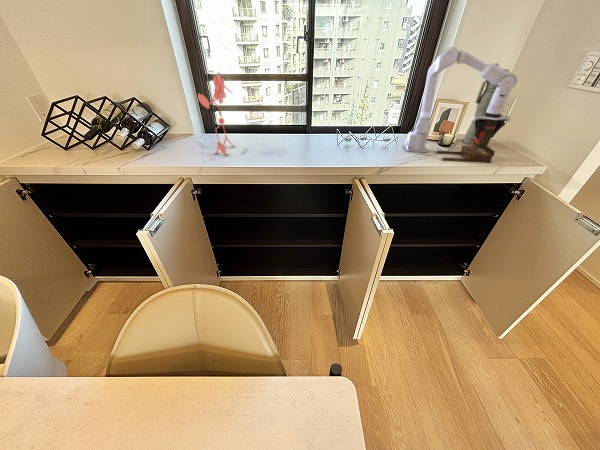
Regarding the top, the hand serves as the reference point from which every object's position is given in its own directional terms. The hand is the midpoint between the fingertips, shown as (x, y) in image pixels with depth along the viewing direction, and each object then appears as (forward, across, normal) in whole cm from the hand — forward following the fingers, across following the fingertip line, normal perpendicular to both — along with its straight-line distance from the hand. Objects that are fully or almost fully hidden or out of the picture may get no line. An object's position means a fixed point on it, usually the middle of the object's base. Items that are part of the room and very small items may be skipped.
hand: (483, 136), depth 119 cm
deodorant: (+5, 0, 0) cm, 5 cm away
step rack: (+10, -6, 0) cm, 12 cm away
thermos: (+10, +8, +23) cm, 26 cm away
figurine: (+10, -120, -8) cm, 121 cm away
